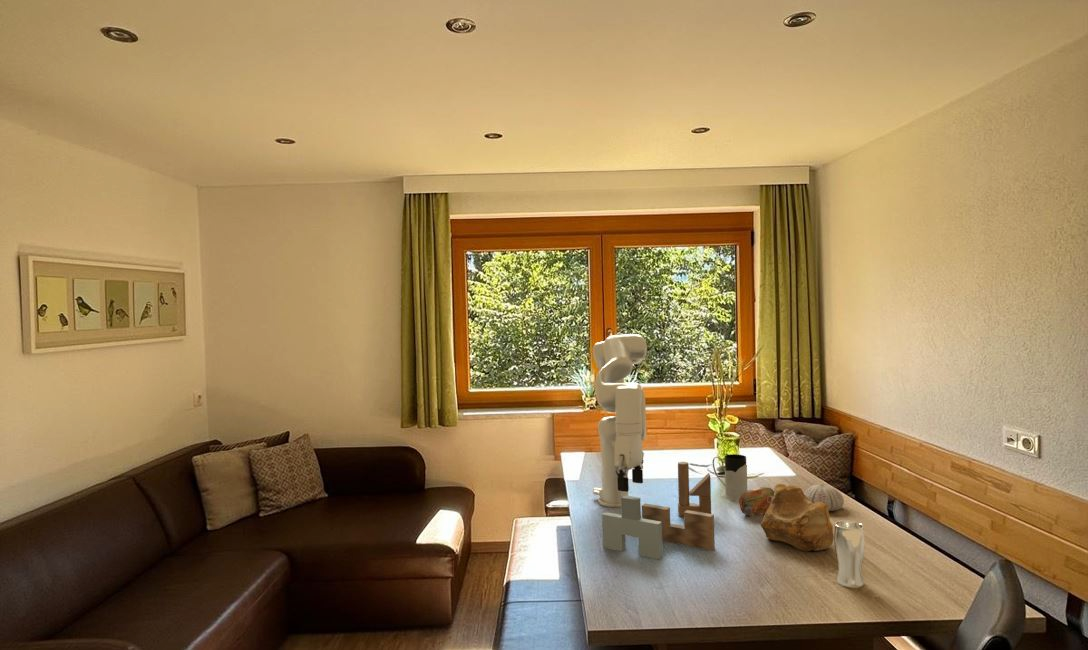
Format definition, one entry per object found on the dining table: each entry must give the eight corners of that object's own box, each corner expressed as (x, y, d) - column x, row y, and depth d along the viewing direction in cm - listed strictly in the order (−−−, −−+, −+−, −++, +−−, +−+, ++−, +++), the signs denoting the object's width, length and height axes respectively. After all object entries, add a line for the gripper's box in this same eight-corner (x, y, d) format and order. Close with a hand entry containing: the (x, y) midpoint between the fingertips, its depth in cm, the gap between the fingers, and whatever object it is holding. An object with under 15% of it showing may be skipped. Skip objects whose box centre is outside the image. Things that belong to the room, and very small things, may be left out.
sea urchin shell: (800, 511, 216) (799, 488, 216) (804, 500, 228) (803, 478, 228) (843, 516, 210) (842, 492, 209) (844, 504, 222) (844, 481, 221)
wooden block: (711, 517, 213) (710, 464, 212) (679, 516, 214) (677, 464, 213) (710, 513, 216) (708, 461, 216) (678, 513, 218) (676, 461, 217)
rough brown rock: (746, 532, 200) (742, 486, 199) (794, 523, 203) (790, 478, 201) (787, 564, 177) (783, 512, 176) (840, 553, 180) (836, 502, 179)
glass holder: (740, 502, 227) (739, 460, 227) (706, 494, 238) (706, 454, 237) (753, 496, 233) (752, 456, 233) (720, 489, 244) (719, 450, 243)
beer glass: (829, 577, 164) (828, 520, 163) (855, 576, 164) (854, 519, 164) (844, 589, 157) (843, 530, 156) (871, 588, 157) (870, 528, 157)
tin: (744, 518, 210) (744, 493, 210) (737, 515, 213) (737, 491, 213) (777, 510, 217) (776, 486, 217) (770, 508, 220) (769, 484, 220)
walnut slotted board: (642, 537, 196) (641, 505, 196) (645, 534, 198) (644, 503, 198) (712, 550, 184) (711, 516, 184) (714, 547, 186) (713, 514, 186)
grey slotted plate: (603, 547, 189) (601, 494, 189) (606, 544, 191) (605, 492, 191) (659, 559, 179) (657, 503, 179) (662, 556, 181) (661, 501, 181)
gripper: (629, 422, 193) (631, 478, 193) (603, 432, 179) (605, 492, 179) (652, 424, 189) (654, 481, 189) (627, 434, 175) (629, 496, 175)
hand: (630, 486), depth 184 cm, fingers open, 9 cm apart
